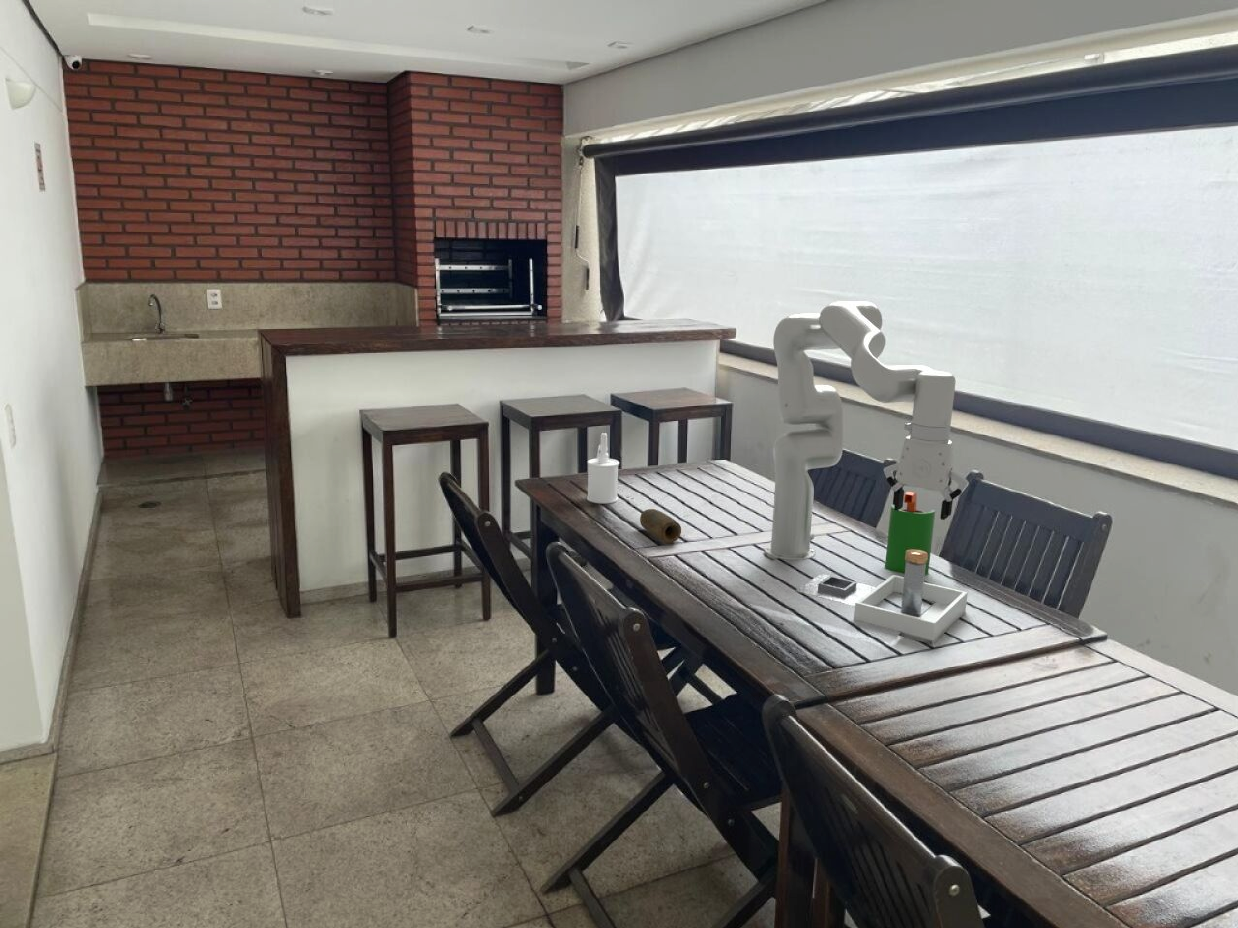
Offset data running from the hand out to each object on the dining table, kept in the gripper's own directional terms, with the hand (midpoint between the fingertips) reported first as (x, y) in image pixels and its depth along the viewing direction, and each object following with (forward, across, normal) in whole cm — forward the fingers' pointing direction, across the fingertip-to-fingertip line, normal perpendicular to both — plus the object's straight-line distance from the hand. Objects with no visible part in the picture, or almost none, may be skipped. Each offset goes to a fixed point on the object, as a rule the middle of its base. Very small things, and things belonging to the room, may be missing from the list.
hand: (921, 513), depth 200 cm
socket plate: (+23, -18, +3) cm, 29 cm away
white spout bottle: (+24, -104, +30) cm, 111 cm away
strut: (+22, 0, 0) cm, 22 cm away
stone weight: (+24, -71, +11) cm, 76 cm away
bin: (+23, 0, 0) cm, 23 cm away
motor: (+23, -11, +28) cm, 38 cm away
